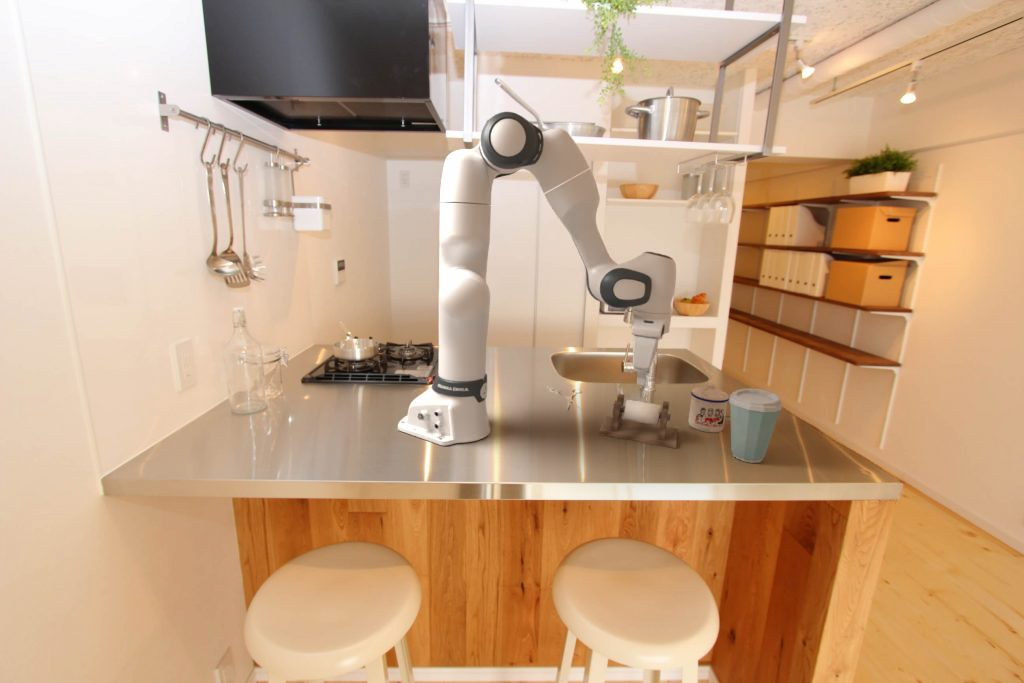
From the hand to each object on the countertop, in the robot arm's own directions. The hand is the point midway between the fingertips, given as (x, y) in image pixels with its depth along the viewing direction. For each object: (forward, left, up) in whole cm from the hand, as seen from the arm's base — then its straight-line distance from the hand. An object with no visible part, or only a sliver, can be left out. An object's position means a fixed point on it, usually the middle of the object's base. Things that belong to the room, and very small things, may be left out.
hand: (643, 379), depth 115 cm
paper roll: (+1, 0, -8) cm, 8 cm away
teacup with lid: (+17, +13, -14) cm, 26 cm away
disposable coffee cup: (+24, -2, -14) cm, 28 cm away
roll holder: (0, 0, -14) cm, 14 cm away
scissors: (-22, +16, -15) cm, 31 cm away
